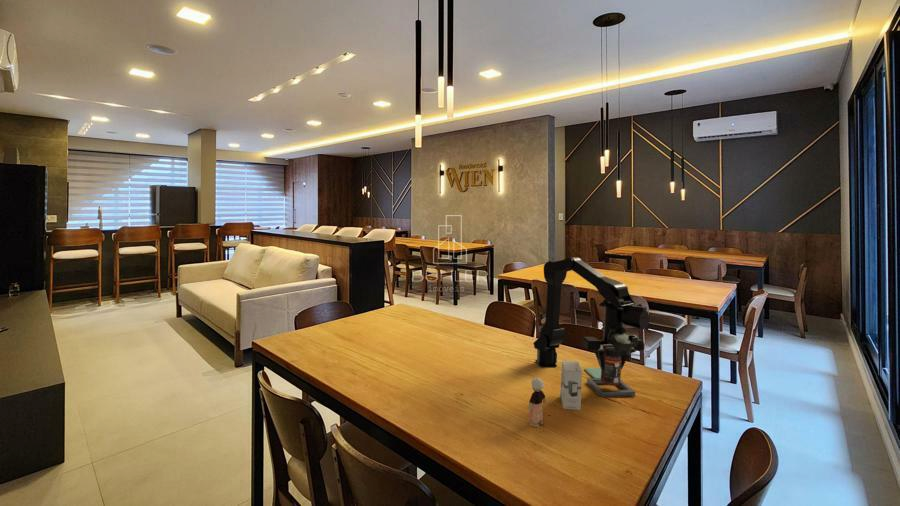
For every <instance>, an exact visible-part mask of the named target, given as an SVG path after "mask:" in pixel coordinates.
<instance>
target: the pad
mask: <svg viewBox="0 0 900 506" xmlns="http://www.w3.org/2000/svg"><path fill="white" fill-rule="evenodd" d="M584 371H585V372H586V373H587V374H588V375H589V376H590V377H591V378H601V368H600V367H598V368H597V367H596V368H595V367H594V368H592V367H591V368H590V367H589V368H587V367H586V368H584Z"/></svg>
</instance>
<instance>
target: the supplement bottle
mask: <svg viewBox="0 0 900 506" xmlns="http://www.w3.org/2000/svg"><path fill="white" fill-rule="evenodd" d="M604 351H605V353H604V367H603V370H602V369H601V381H602V382H603V383H605V384H604V385H608V386H618V385H619V384H620V380H621V378H622V377H621V375H622V374H621V373H622V369H621V361H622V358H621V357H620V356H619V352H618V351H616V350H615V348H614V347H613V346H606V348H605V350H604Z"/></svg>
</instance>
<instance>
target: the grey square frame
mask: <svg viewBox="0 0 900 506" xmlns="http://www.w3.org/2000/svg"><path fill="white" fill-rule="evenodd" d="M586 384H588V386H590V388H591V389H593V391H594V392H595V393H596V394H597V395H599V396H600V397H601V398H602V397H603V398H607V397H608V398H612V397H618V398H619V397H620V398H621V397H636V391H635V390H634V389H632V388H631V387H630V386H629V385H627V384H626V383H625V382H624V381H623V380H621V379H620V384H619V385H617V386H618V387H620V389H621V390H620V389H617V390H616V389H613V390H611V389H609V390H604V389H602V388H601V387H600V386H599V385H606V384H605V383H603V382H602V381H601V378H593V377H590V378H589V377H588V378H586Z"/></svg>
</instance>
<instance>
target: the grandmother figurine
mask: <svg viewBox="0 0 900 506" xmlns="http://www.w3.org/2000/svg"><path fill="white" fill-rule="evenodd" d="M530 382H531V383H530V384H531V388H532V391H533V392H532V393H531V396H530V398H529V401H528V406H527V409H528V410H529V414H528V421H529V426H530V427H534V428H540V425H543V424H544V416H543V415H544V411H543V410H544V409H543V405H542V403H545V404H546V403H547V398H546V395H545V393H544V391H543V390H542V389H544V387H545V385H544V381H543V380H542V379H541V378H539V377H534V378H533V379H531V381H530Z"/></svg>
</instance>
